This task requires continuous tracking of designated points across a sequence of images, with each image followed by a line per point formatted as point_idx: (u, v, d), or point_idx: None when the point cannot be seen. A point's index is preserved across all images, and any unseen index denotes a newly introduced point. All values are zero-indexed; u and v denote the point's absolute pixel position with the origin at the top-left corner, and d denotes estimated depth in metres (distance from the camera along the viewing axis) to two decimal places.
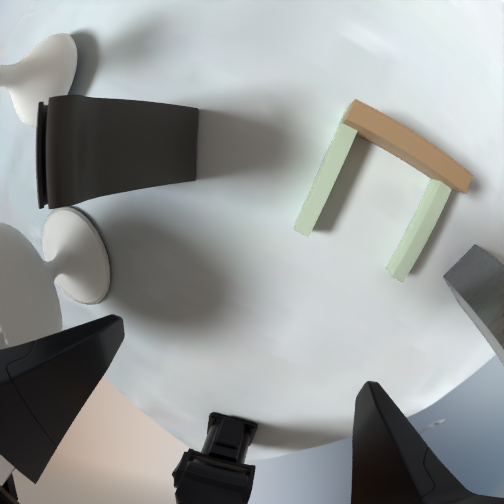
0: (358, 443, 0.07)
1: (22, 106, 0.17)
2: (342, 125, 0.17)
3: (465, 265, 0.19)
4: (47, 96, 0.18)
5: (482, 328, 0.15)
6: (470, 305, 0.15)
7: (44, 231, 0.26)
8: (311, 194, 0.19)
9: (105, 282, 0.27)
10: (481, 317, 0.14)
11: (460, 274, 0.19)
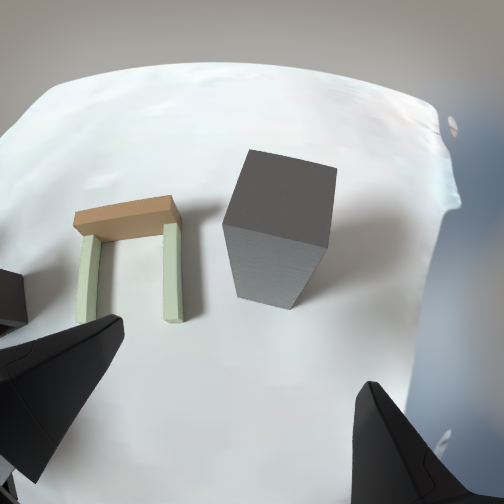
0: (358, 443, 0.07)
1: None
2: (84, 237, 0.23)
3: None
4: None
5: (265, 279, 0.17)
6: (233, 275, 0.18)
7: None
8: (78, 291, 0.21)
9: None
10: (231, 265, 0.16)
11: None
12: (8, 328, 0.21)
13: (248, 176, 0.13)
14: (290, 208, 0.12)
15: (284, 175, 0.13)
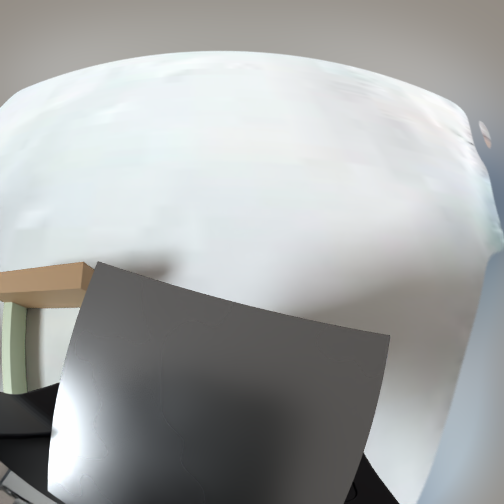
0: None
1: None
2: (4, 304, 0.14)
3: None
4: None
5: None
6: None
7: None
8: (3, 374, 0.12)
9: None
10: None
11: None
12: None
13: (83, 374, 0.03)
14: None
15: (191, 389, 0.03)
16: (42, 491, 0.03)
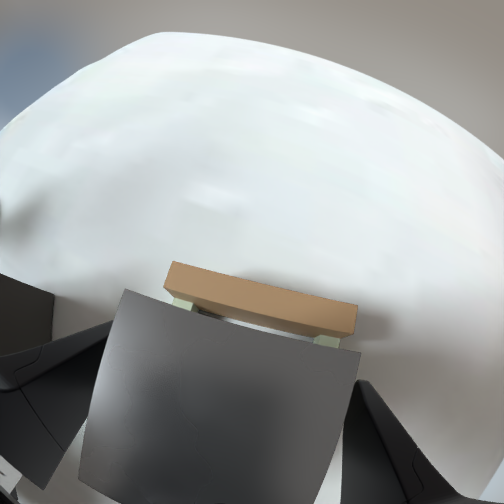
0: (348, 442, 0.07)
1: None
2: (174, 300, 0.16)
3: None
4: None
5: None
6: None
7: None
8: None
9: None
10: None
11: None
12: None
13: (116, 380, 0.04)
14: (212, 483, 0.03)
15: (204, 391, 0.04)
16: None
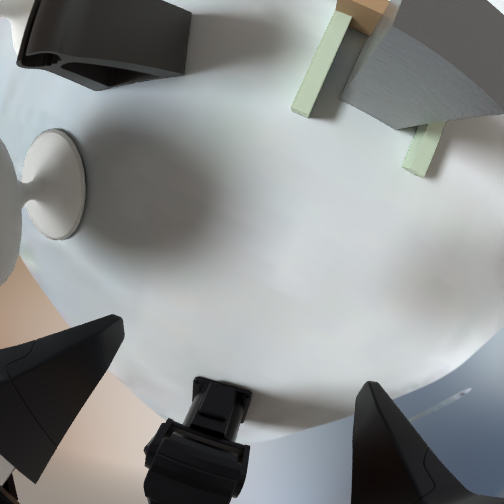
0: (358, 443, 0.07)
1: (21, 36, 0.13)
2: (336, 12, 0.12)
3: (353, 69, 0.14)
4: None
5: (395, 97, 0.10)
6: (353, 79, 0.11)
7: (25, 162, 0.22)
8: (308, 70, 0.14)
9: (79, 206, 0.22)
10: (360, 69, 0.10)
11: (349, 78, 0.14)
12: (143, 76, 0.17)
13: None
14: (474, 45, 0.04)
15: (466, 3, 0.03)
16: None
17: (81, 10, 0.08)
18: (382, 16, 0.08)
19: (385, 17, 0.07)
